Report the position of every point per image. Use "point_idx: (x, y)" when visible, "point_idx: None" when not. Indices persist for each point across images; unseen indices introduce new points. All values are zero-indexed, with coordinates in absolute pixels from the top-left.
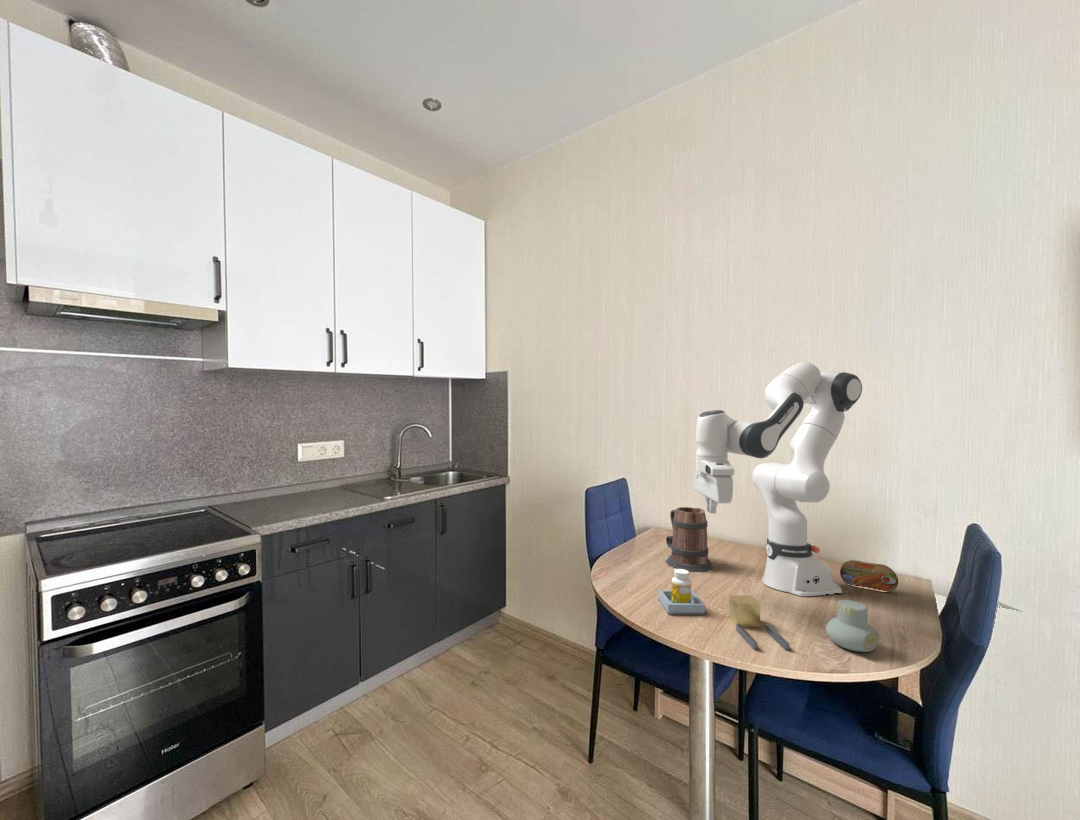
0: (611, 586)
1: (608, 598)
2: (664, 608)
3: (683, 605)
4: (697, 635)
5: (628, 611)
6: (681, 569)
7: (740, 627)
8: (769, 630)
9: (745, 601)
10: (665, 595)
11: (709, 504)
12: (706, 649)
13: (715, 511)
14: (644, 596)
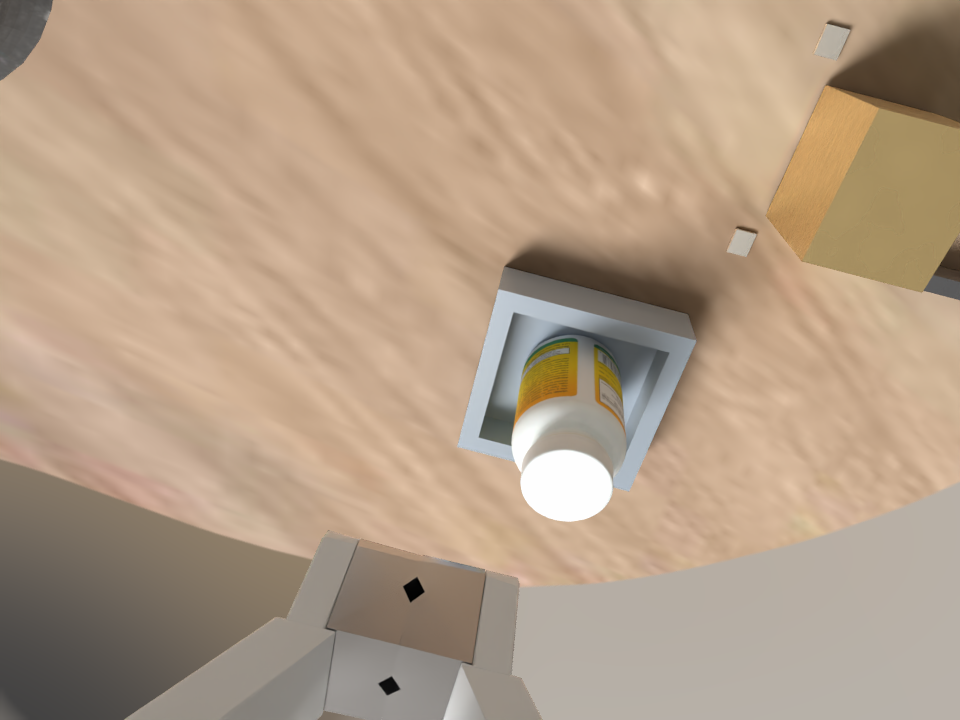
0: (288, 518)
1: None
2: None
3: (653, 430)
4: (832, 448)
5: (542, 565)
6: (537, 471)
7: (956, 296)
8: None
9: (929, 222)
10: None
11: (309, 704)
12: (942, 480)
13: (512, 606)
14: (412, 449)
